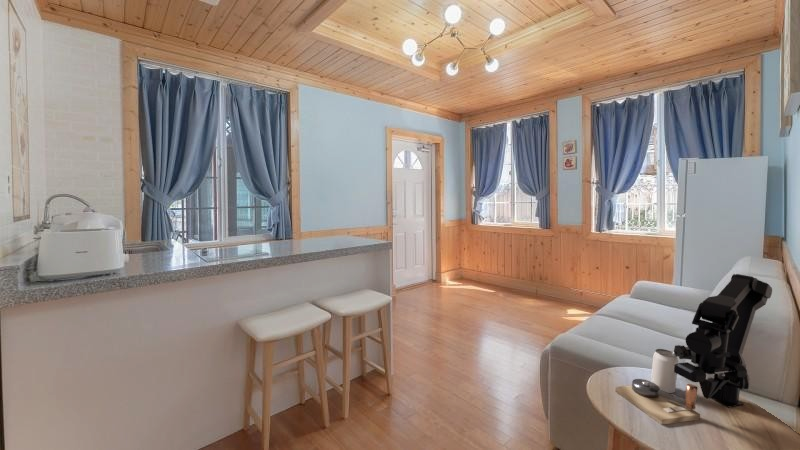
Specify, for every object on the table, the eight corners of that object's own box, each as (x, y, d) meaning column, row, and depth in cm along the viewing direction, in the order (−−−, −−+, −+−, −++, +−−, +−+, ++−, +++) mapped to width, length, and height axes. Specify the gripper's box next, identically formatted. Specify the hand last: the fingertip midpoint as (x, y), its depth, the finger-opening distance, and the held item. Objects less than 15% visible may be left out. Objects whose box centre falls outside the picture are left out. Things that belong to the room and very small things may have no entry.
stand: (649, 387, 115) (649, 382, 115) (699, 419, 100) (700, 413, 100) (615, 391, 113) (615, 386, 112) (661, 424, 97) (662, 418, 97)
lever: (628, 389, 111) (630, 368, 110) (637, 382, 115) (639, 361, 114) (690, 416, 98) (693, 392, 97) (698, 407, 102) (701, 384, 102)
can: (679, 395, 111) (683, 358, 110) (656, 392, 113) (660, 356, 111) (668, 383, 118) (672, 349, 116) (646, 381, 119) (649, 347, 118)
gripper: (709, 332, 109) (703, 379, 111) (659, 336, 106) (654, 385, 107) (751, 348, 98) (744, 401, 100) (697, 353, 95) (690, 408, 96)
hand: (706, 397), depth 101 cm, fingers closed
